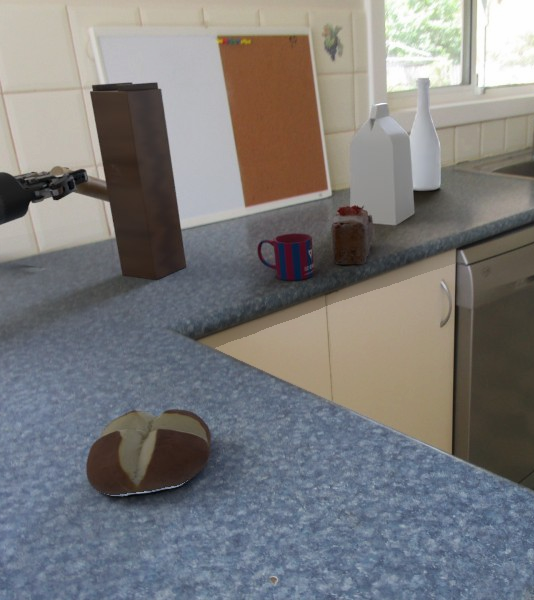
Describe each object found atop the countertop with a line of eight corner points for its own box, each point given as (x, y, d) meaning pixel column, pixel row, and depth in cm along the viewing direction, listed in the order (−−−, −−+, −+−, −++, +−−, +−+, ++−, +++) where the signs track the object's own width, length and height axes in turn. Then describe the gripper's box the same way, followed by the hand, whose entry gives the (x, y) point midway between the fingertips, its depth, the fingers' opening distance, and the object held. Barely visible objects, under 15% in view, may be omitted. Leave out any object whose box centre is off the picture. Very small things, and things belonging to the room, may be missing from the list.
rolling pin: (61, 186, 111) (64, 165, 111) (46, 186, 113) (49, 165, 113) (150, 211, 130) (152, 193, 130) (136, 211, 131) (138, 193, 131)
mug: (304, 282, 115) (301, 244, 112) (253, 277, 118) (249, 240, 115) (320, 270, 121) (317, 234, 118) (271, 266, 124) (267, 231, 121)
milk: (395, 225, 151) (393, 106, 142) (350, 221, 155) (345, 106, 146) (414, 213, 161) (413, 102, 152) (371, 210, 165) (367, 101, 156)
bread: (72, 504, 59) (61, 457, 58) (122, 435, 70) (114, 393, 68) (197, 502, 59) (189, 454, 57) (227, 433, 70) (222, 391, 68)
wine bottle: (447, 187, 190) (447, 77, 180) (426, 192, 184) (425, 79, 173) (421, 183, 196) (420, 77, 186) (400, 188, 190) (398, 78, 179)
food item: (335, 245, 136) (332, 198, 132) (374, 244, 136) (372, 197, 133) (330, 266, 123) (327, 214, 120) (373, 265, 123) (371, 213, 120)
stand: (156, 280, 118) (125, 85, 106) (122, 275, 121) (88, 84, 109) (186, 267, 124) (160, 82, 113) (153, 262, 127) (125, 82, 116)
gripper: (8, 182, 97) (100, 154, 111) (-52, 176, 103) (43, 150, 117) (24, 230, 101) (111, 197, 115) (-36, 221, 106) (55, 191, 120)
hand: (76, 173), depth 116 cm, fingers closed on rolling pin, 3 cm apart
